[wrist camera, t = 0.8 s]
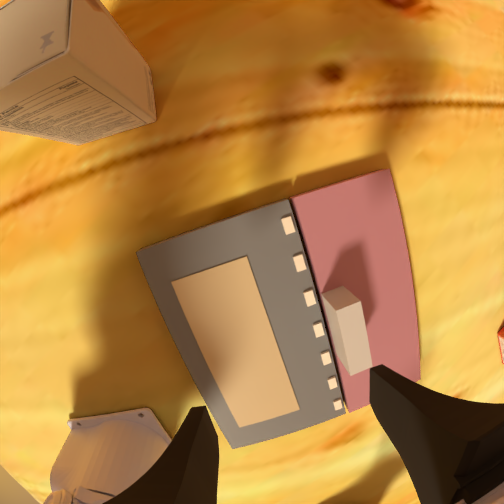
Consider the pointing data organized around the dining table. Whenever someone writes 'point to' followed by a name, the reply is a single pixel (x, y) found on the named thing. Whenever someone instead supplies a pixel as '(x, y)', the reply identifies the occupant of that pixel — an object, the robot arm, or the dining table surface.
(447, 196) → the dining table surface
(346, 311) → the pink board with handle
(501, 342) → the cracker box
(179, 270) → the ticket
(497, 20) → the dining table surface
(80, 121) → the skincare box
